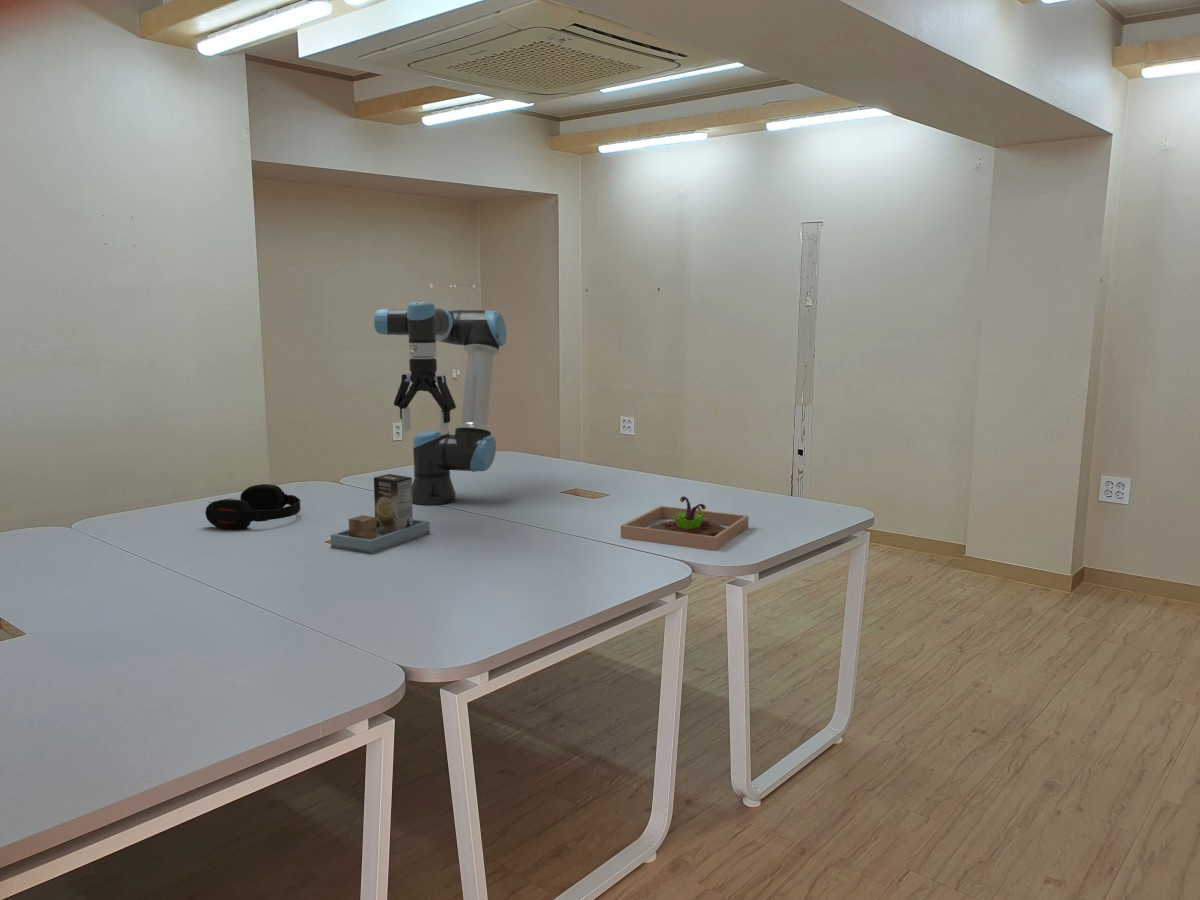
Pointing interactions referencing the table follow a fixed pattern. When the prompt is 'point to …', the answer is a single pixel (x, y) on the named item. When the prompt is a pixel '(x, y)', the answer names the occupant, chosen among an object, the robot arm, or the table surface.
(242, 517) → the headset
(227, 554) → the table surface
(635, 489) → the table surface
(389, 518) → the coffee box
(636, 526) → the plant saucer
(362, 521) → the walnut block
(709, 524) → the plant
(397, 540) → the tray
